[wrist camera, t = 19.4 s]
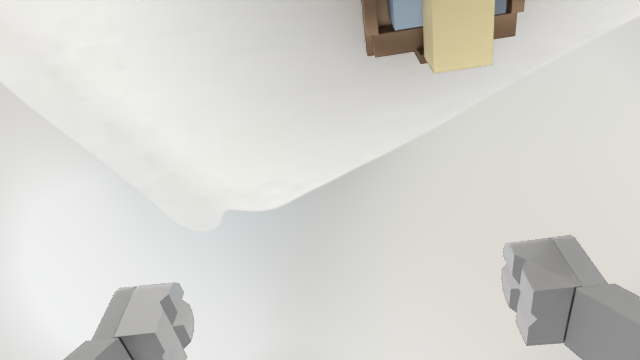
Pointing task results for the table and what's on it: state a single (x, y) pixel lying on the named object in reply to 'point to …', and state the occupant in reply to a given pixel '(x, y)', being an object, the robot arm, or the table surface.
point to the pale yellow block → (458, 33)
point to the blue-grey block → (418, 12)
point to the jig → (418, 30)
